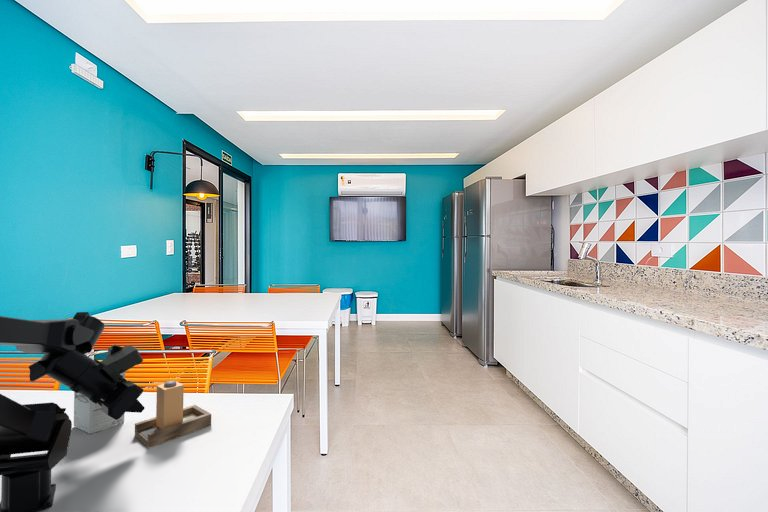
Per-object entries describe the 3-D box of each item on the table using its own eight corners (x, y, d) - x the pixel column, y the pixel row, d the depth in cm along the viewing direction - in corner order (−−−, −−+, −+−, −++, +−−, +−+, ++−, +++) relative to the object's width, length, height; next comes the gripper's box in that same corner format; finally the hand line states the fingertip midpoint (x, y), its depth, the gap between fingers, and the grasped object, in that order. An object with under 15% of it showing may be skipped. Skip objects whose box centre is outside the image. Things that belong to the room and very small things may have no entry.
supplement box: (72, 427, 84) (73, 372, 83) (109, 414, 90) (109, 363, 90) (88, 435, 80) (89, 378, 80) (125, 421, 87) (126, 368, 87)
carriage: (163, 431, 79) (164, 387, 79) (156, 425, 82) (156, 382, 82) (182, 424, 83) (183, 382, 83) (175, 419, 85) (175, 378, 85)
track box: (149, 448, 75) (149, 435, 75) (134, 435, 80) (134, 423, 80) (211, 425, 86) (211, 414, 86) (194, 415, 91) (194, 404, 91)
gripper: (131, 343, 68) (191, 386, 77) (98, 329, 79) (154, 367, 88) (77, 398, 62) (148, 438, 71) (49, 374, 73) (114, 411, 82)
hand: (142, 409), depth 78 cm, fingers closed
